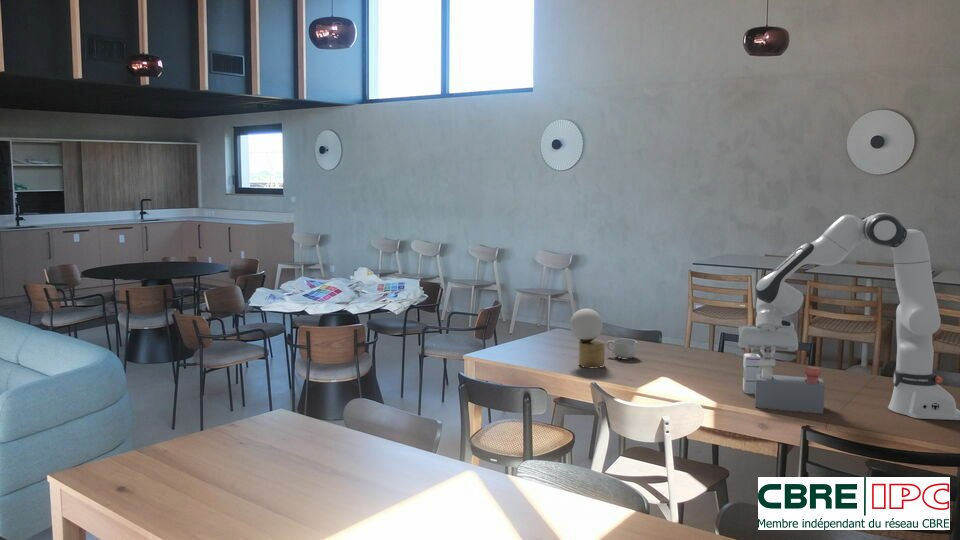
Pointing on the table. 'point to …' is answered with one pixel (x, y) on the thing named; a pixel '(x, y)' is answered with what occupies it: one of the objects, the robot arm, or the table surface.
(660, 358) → the table surface
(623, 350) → the teacup
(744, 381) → the syrup box
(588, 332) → the lamp
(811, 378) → the red plug
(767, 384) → the block
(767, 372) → the grey bulb-shaped piece
